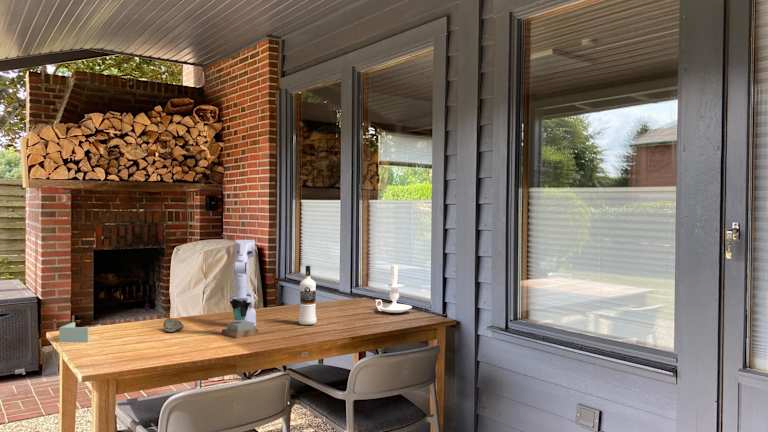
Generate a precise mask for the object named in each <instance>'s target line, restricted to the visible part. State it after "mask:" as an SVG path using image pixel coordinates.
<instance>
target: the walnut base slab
mask: <svg viewBox="0 0 768 432" xmlns="http://www.w3.org/2000/svg"><path fill="white" fill-rule="evenodd" d="M221 335H222V336H225V337H226V336H227V337H230V338H235V339H240V338H245V337H246V338H247V337H249V336H255V335H259V329H258V328H255V327H254V329H252V330H246V331H240V332H236V331H232V330H229V329H227V328H221Z"/></svg>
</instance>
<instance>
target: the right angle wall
mask: <svg viewBox="0 0 768 432" xmlns="http://www.w3.org/2000/svg"><path fill="white" fill-rule="evenodd" d="M89 331H90V328H89V327H88V326H85V327H83V326H82V327H81V326H80V327H78V326H76V322H75V321H74V322H70V323H68V324H64V325H62V326H60V327H59V329H58V332H59V333H58V337H59V340H58V342H59V343H89V339H90V337H89V334H90V333H89Z"/></svg>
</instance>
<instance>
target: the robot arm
mask: <svg viewBox="0 0 768 432" xmlns="http://www.w3.org/2000/svg"><path fill="white" fill-rule="evenodd" d="M255 247H256V241H255V239H235V240H234V254H235V261H234V262H233V264H232V274H233V294H230V295H229V303H230V305H231V308H232V311H233V312H234V309H235V308H240V310H241V317H245V319H244V320H245V321H249V322H253V323H254V327H257V326H258V325H257V312H256V309H255V308H254V304H255V300H254V299H255V298H254V292H253V291H251V290H250V289H249V277H250V260H251V259H252V258H253V257H255ZM235 321H242V320H235Z"/></svg>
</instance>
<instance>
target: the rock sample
mask: <svg viewBox="0 0 768 432" xmlns="http://www.w3.org/2000/svg"><path fill="white" fill-rule="evenodd" d="M184 328H185V327H184V324H182V321H180V320H178V319H173V318H171V317H167V318H166V319H165V320H164V322H163V329H164V331H166V332H169V333H172V332H173V333H174V332H179V331H181V330H183V329H184Z"/></svg>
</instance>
